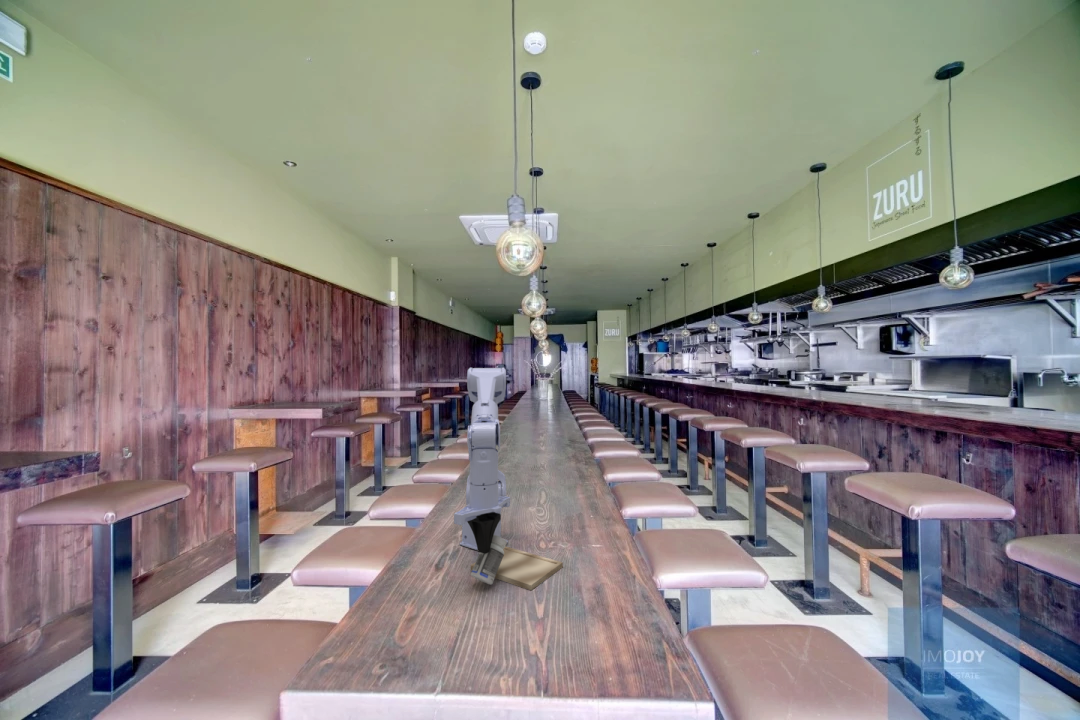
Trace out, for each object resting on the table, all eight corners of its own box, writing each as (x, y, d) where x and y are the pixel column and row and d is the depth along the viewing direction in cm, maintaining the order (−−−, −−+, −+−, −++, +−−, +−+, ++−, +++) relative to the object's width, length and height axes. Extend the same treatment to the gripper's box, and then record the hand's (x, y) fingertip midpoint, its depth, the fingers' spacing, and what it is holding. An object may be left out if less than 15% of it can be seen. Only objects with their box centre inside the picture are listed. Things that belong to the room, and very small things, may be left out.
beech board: (470, 569, 88) (470, 564, 88) (505, 550, 98) (505, 545, 98) (531, 590, 79) (531, 584, 79) (562, 567, 89) (562, 561, 89)
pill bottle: (494, 587, 82) (511, 545, 86) (487, 581, 78) (505, 537, 83) (474, 578, 83) (491, 537, 88) (466, 572, 80) (485, 530, 85)
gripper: (473, 493, 74) (473, 570, 73) (521, 477, 86) (521, 544, 85) (446, 487, 78) (445, 561, 77) (495, 474, 90) (495, 537, 89)
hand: (483, 551), depth 82 cm, fingers closed
